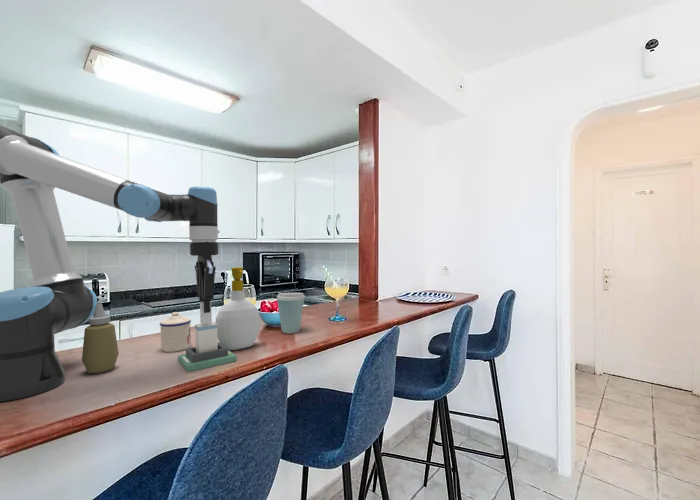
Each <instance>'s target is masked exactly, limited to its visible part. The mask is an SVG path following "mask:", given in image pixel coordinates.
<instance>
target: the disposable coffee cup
mask: <svg viewBox="0 0 700 500" xmlns="http://www.w3.org/2000/svg"><path fill="white" fill-rule="evenodd" d="M305 298H306V295H305V294H304V293H303V292H281V293H278V294H277V296H276V300H277V308H278V315H279V322H280V328H281V329H280V330H281V332H283V334H296V333H298V332H300V329H301V323H302V317H303V316H302V315H303V309H304V308H303V307H304V304H305V303H304V302H305Z"/></svg>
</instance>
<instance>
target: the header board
mask: <svg viewBox="0 0 700 500" xmlns="http://www.w3.org/2000/svg"><path fill="white" fill-rule="evenodd" d="M177 361H178V362H179V363H180V365H182V367H183V369H184V370H185V371H186V372H187V373H188V372H189V373H190V372H193V371H194V372H195V371H197V370H198V371H199V370H203V369H207V368H208V369H209V368H212V367H216V366H222V365H225V364H230V363H235V362H237V355H236V354H235V353H233V352H232V351H231V350H228V348H226V347H225V346H224V345H222V344H221V343H220V342H218V350H213V351H208V352H203V353H197V354H196V346H194V347H189V348H187V349H185V353H183V354H177Z"/></svg>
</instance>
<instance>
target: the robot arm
mask: <svg viewBox="0 0 700 500" xmlns="http://www.w3.org/2000/svg"><path fill="white" fill-rule="evenodd" d="M0 186H1V188H3V189H4V190H6V191H8V192H9V193H10V194H11V197H12V201H13V202H12V203H13V205H14V210H15V212H16V216H17V221H18V223H19V228H20V233H21V236H22V240H23V243H24V248H25V251H26V254H27V258H28V262H29V263H28V264H29V266H30V271H31V274H32V275H31V276H32V278H33V281H31V283H30V285H29V286H28V287H20V288H17V289H9V290H5V291H4V290H3V291H1V292H0V402H8V401H9V402H10V401H14V400H19V399H23V398H27V397H31V396H32V397H33V396H35V395H38V394H41V393H44V392H47V391H49V390H52V389H54V388H56V387H58V386H60V385H62V384H63V383H64V382H65V381H66V380H65V379H66V377H65V376H66V375H65V369H64V367H63V365H62V363H61V361H60V359H59V357H58V355H57V353H56V349H55V348H56V347H55V346H56V345H55V335H56V334H59V333H63V332H65V331H68V330H72V329H76V328H78V327H79V326H81V325H83V324H86V322H89V318H91V317H94V313H95V308H96V304H98V297H97V295H96V293H95V292H94V290H92V289H91V288H90V287H89V286H86V285H85V282H84V278H83V276H81V275H79V274H78V273H76V272H75V271H74V267H73V263H72V260H71V259H72V258H71V255H70V252H69V251H70V250H69V248H68V244H67V239H66V236H65V232H64V227H63V223H62V220H61V219H62V218H61V215H60V212H59V211H60V210H59V207H58V204H57V200H56V196H55V192H54V190H55V189H56V188H57V189H59V190H62V191H65V192H67V193H71V194H74V195H77V196H79V197H83V198H85V199H88V200H90V201H94V202H97V203H100V204H102V205H106V206H109V207H111V208H114V209H116V210H120V211H122V212H124V213H125V214H128V215H130V216H132V217H136V218H141V219H144V220H145V221H147V222H155V223H156V222H158V223H161V222H188V223H189V225H188V226H189V227H188V229H189V231H188V233H189V234H188V235H189V240H190V241H191V242H190V244H189V255H190V256H193V257H194V256H195V257H197V261H196V262H195V265H194V270H195V278H196V279H195V280H196V290H197V298H198V302H199V312H200V313H199V314H200V317H199V318H200V321H199V322H200V324H202V325H203V324H210V323H212V322H213V320H212V319H213V317H212V300H214V298H215V297H214V295H215V275H216V274H215V273H216V269H217V267H216V266H215V265H214V261H213V258H212V257H213V256H217V255H219V243H218V240H219V234H220V230H219V229H218V228H219V227H218V225H219V223H218V206H219V204H218V197H217V191H216V189H214V188H213V187H209V186H190V187H189V188H188V192H187V194H186V193H185V194H169V193H164V192H162V191H159V190H156V189H154V188H152V187H150V186H146V185H144V184H140V183H137V182H134V181H131V180H128V179H126V178H123V177H120V176H117V175H115V174H113V173H109V172H106V171H104V170H100V169H98V168H96V167H92V166H90V165H87V164H84V163H82V162H80V161H76V160H74V159H70V158H68V157H64V156H62V155H61V154H59V153H58V151H57V150H56V149H55V148H54V147H52V146H51V145H49V144H48V143H46V142H44V141H42V139H39V138H35V137H32V136H28V135H25V134H23V133H20V132H18V131H15V130H13V129H10V128H8V127H5V126H2V125H0Z"/></svg>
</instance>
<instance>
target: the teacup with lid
mask: <svg viewBox="0 0 700 500" xmlns="http://www.w3.org/2000/svg"><path fill="white" fill-rule="evenodd" d="M191 323H192V320H191V318H189V317H186V316H183V315H182V314H180V313H179V312H178V311H177V312H175V311H174V312H172V313H171V315H170V316H168V317H167V318H165V319H162V320H161V321H160V323H159V326H160V349H161V351H162V352H166V353H175V352H181V351H184V350H185V351H186V349H187V348H191V346H192V342H191V341H192V340H191V337H192V335H191V334H192V333H191Z"/></svg>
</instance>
